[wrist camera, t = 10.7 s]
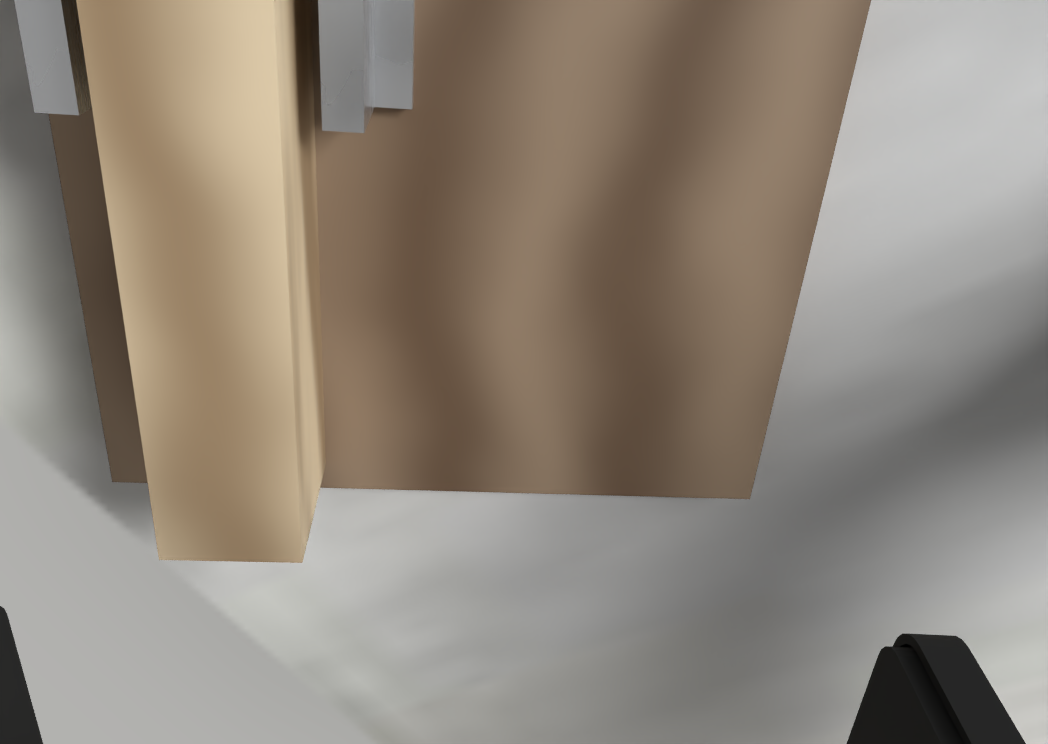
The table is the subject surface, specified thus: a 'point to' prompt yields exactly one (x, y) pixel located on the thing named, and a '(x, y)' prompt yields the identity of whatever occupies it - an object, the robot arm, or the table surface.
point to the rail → (216, 262)
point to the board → (548, 246)
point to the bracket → (345, 58)
